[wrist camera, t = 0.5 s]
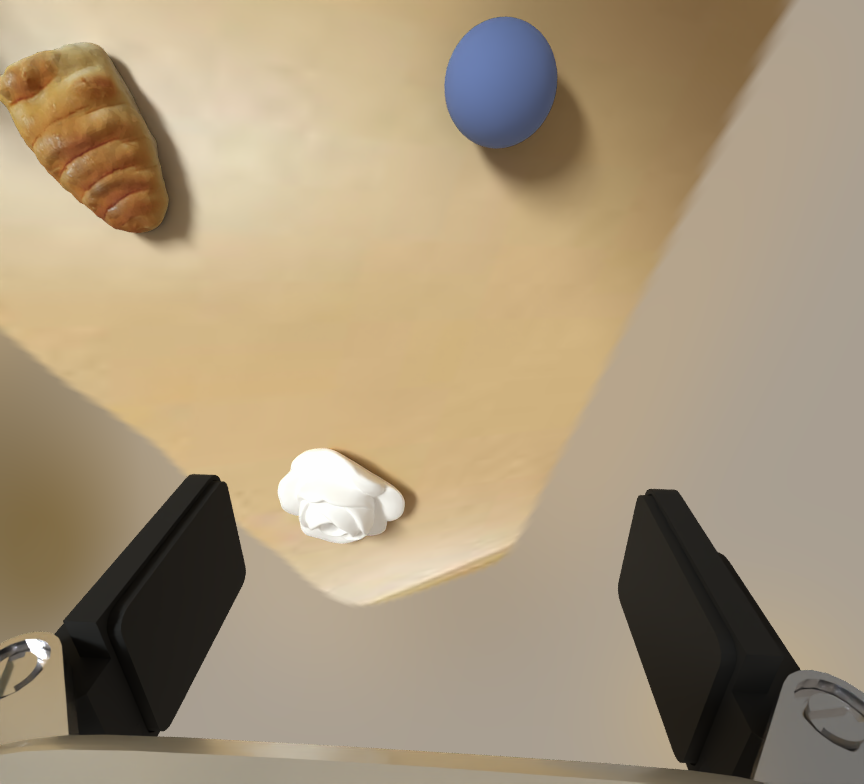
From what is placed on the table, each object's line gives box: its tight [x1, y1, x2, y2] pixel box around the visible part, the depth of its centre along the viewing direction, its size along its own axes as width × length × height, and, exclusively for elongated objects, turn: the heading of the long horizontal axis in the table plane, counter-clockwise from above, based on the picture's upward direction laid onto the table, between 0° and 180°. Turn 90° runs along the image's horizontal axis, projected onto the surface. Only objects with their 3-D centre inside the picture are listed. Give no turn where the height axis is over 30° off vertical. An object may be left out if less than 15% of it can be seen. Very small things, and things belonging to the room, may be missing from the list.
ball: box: [445, 17, 557, 148], centre depth 24 cm, size 6×6×6 cm
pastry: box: [0, 43, 169, 233], centre depth 28 cm, size 9×7×4 cm
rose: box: [278, 448, 405, 543], centre depth 38 cm, size 10×4×10 cm
